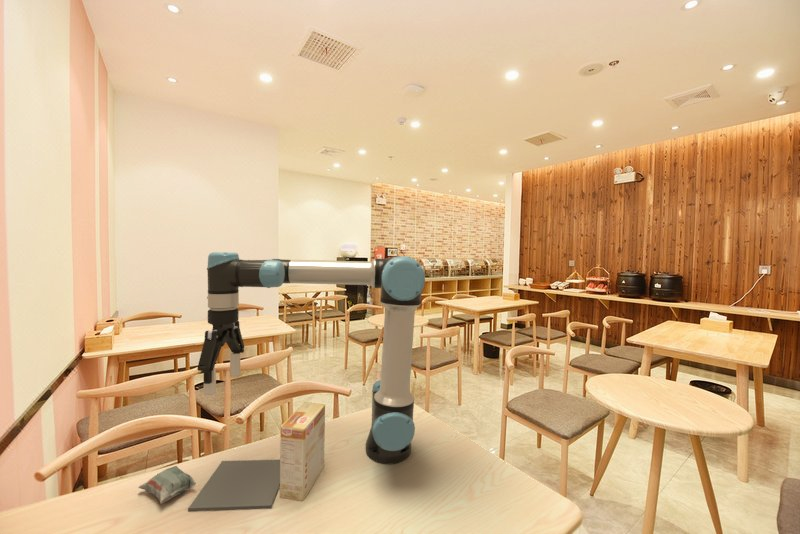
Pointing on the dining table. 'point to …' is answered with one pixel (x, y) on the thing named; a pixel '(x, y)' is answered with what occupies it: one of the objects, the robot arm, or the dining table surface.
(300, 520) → the dining table surface
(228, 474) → the mat
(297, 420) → the coffeecake box
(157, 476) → the packaged food
